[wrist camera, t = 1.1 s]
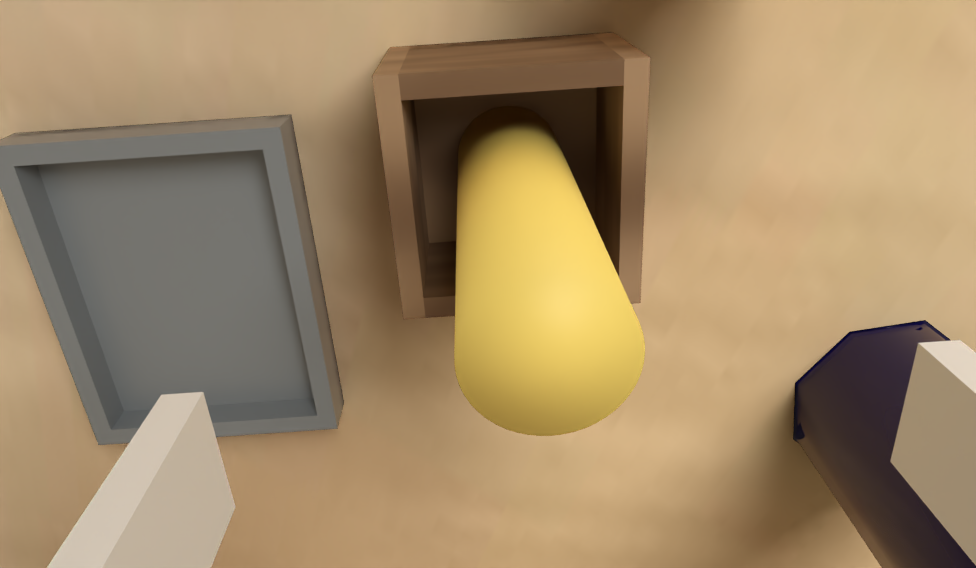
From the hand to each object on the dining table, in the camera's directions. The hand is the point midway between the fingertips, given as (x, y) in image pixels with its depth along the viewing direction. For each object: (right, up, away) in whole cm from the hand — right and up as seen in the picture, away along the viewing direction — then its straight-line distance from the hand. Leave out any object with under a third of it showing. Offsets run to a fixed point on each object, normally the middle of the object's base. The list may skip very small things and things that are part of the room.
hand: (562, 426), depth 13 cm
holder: (-1, +8, +16) cm, 18 cm away
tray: (-14, +3, +18) cm, 23 cm away
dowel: (-1, +8, +15) cm, 17 cm away
